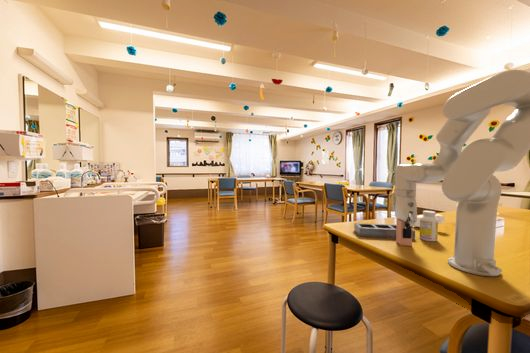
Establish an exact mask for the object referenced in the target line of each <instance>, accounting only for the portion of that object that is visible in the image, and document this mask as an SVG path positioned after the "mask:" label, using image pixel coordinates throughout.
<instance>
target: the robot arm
mask: <svg viewBox="0 0 530 353" xmlns="http://www.w3.org/2000/svg"><path fill="white" fill-rule="evenodd" d="M501 105H505V106H511V107H513V108H514V111H513V112H512V114H510V115H508V117H507V118H506V119H505V120H504V121H503V122H502V123H501V125H500V127H499V128H498V130H496V131H495V132H494V135H493V136H492V137H491V138H489V137H488V138H487V137H486V138H481V139H477V140H475V141H473V142H471V143H469V144H468V145H467V146H465V147H464V145H465V144H466V143H467V141H468V140H469V139H470V137H472V135H473V134H474V133H475V132H476V130H477V129H478V128H479V127H480V125H482V123H483V122H484V121H485V119H486V118H487V116H489V114H490V112H491V111H492V108H495V107H498V106H501ZM442 114H443V116H444V117H445V118H446V119H447V120H446V121H445V123H444V124H443V126H442V127H441V129H439V131H438V132H437V134H436V135H435V139H436V141H437V142H438V144H439V146H440V150H439V153H438V154H437V156H436V157H435V159H434V160H433V161H432V163H415V164H398V165H397V166H396V167H395V181H394V182H395V183H394V184H395V186H394V197H395V205H394V216H395V218H396V220H397V219H400V220H402V221H403V222H404V228H403V238H411V237H412V226H413V225H414V224H415V222H416V221H417V216H418V205H417V184H428V183H429V184H430V183H431V184H432V183H439V182H442V183H441V191H442V194H443V195H444V196H445V197H446V198H447V199H449V200H450V201H453V202H457V203H458V204H457V206H456V211H455V225H454V226H455V230H454V247H453V248H454V252H453V256H450V257H448V258H447V263H448V264H449V265H450V266H451V267H453V268H455V269H457V270H460V271H463V272H465V273H469V274H472V275H478V276H485V277H498V276H500V275H501V273H502V272H503V270H502V268H500V267H498V266H497V260H495V249H496V248H495V247H496V246H495V245H496V244H495V243H496V229H497V214H498V207H499V203H500V198H501V195H502V184H501V182H500V180H499V179H498V177H496V176H495V175H494V173H495V172H507V171H510V170H513V169H514V168H515V167H517V166H519V164H520V163H521V161H522V160H523V159H524V158H525V157H526V155H527V154H528V153H529V151H530V72H529V71H526V70H523V69H510V70H505V71H502V72H499V73H496V74H495V75H492V76H490V77H488V78H485V79H484V80H482V81H479V82H477V83H475V84H473V85H471V86H469V87H467V88H465V89H463V90H461V91H459V92H456V93H454V95H452V96H450V97H449V98H448V99H447V100H446V101H445V103H444V105H443V106H442ZM463 147H464V149H463ZM462 149H463V150H462ZM407 220H409V221H407ZM406 223H407V225H406ZM413 227H414V226H413Z"/></svg>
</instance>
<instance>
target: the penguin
mask: <svg viewBox="0 0 530 353" xmlns="http://www.w3.org/2000/svg"><path fill="white" fill-rule="evenodd" d="M422 216H423V214H420V215H417V221H416V222H415V224H414V225H413V227H415V228H420V217H422ZM435 217H436V218H437V219H438V225H439V224H440V225H442V224H443V223H445V221H446V218H445V217H444V215H442V214H440V213H436V215H435Z"/></svg>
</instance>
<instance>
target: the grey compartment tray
mask: <svg viewBox="0 0 530 353" xmlns="http://www.w3.org/2000/svg"><path fill="white" fill-rule="evenodd" d="M353 225H354V228H353V230H354V232H355V233H356V234H357V235H358V237H359V236H360V237H361V238H362V237H363V238H377V239H379V238H380V239H381V238H382V239H396V226H397V224H391V223H390V224H387V223H368V222H367V223H363V222H354V224H353ZM415 239H416V230H415V229H414V228H413V229H412V240H415Z"/></svg>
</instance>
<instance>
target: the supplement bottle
mask: <svg viewBox="0 0 530 353" xmlns="http://www.w3.org/2000/svg"><path fill="white" fill-rule="evenodd" d="M436 214H437V213H436V211H433V210H422V215H423V216H422V217H420V227H419V238H420V239H421V240H422V241H427V242H437V241H438V237H439V236H438V234H439V232H438V231H439V229H438V228H439V224H438V219H437V218H436V217H435V215H436Z"/></svg>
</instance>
